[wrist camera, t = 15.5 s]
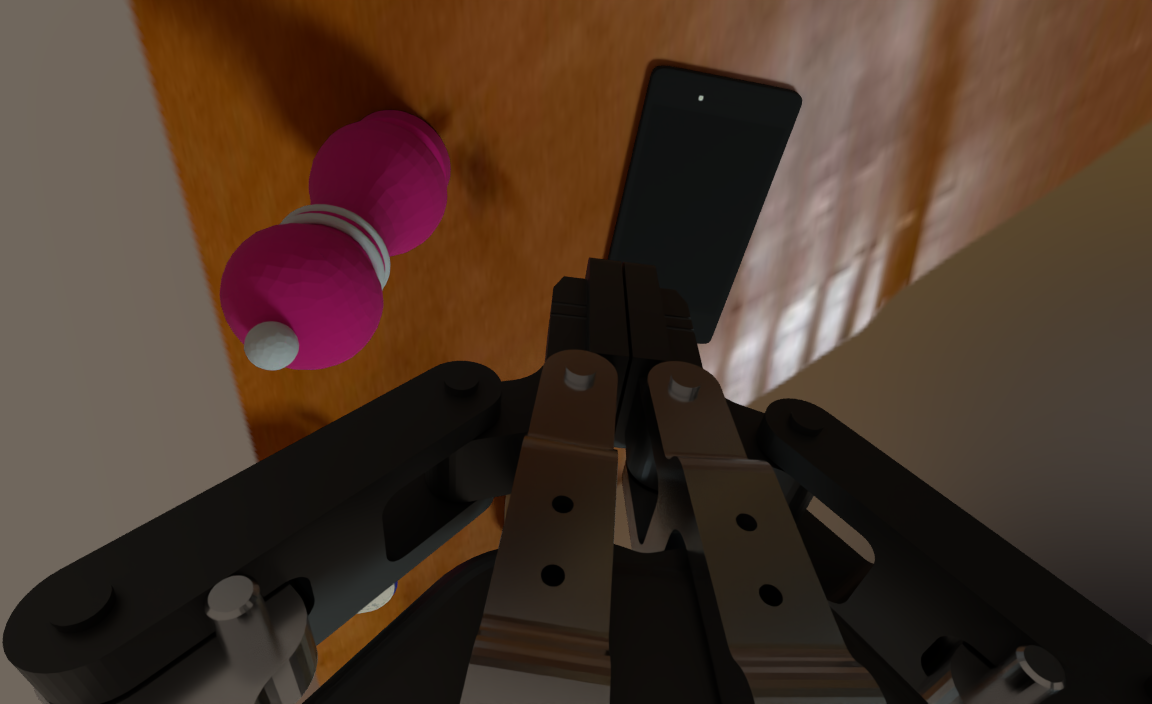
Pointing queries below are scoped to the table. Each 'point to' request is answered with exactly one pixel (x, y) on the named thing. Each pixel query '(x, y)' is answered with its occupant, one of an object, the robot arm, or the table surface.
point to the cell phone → (700, 182)
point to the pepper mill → (337, 245)
